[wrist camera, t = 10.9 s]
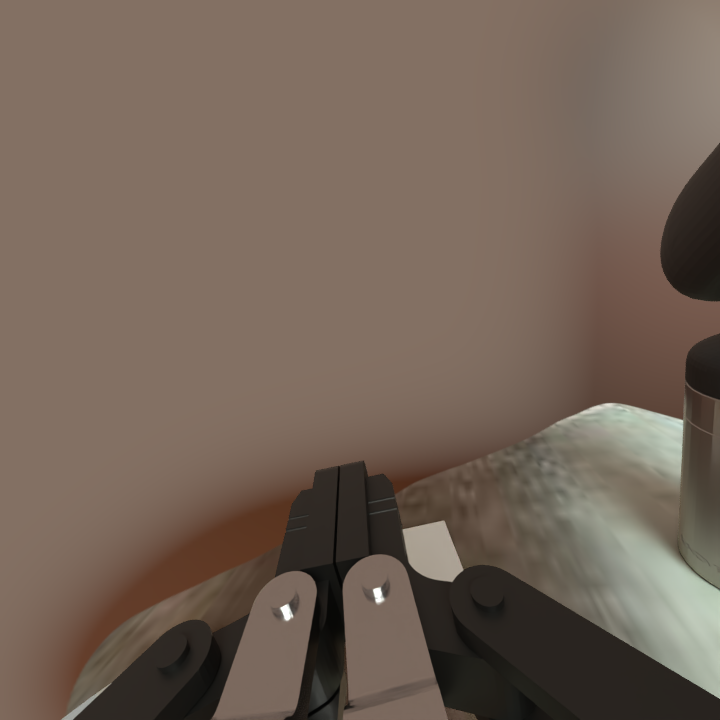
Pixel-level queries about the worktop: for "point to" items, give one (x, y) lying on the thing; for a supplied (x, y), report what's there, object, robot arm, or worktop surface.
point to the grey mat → (432, 551)
